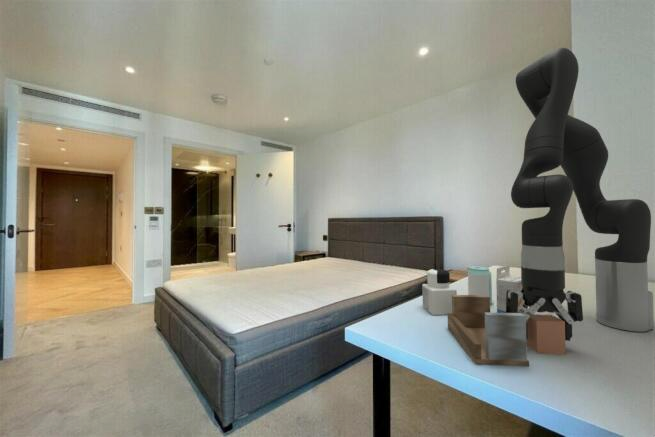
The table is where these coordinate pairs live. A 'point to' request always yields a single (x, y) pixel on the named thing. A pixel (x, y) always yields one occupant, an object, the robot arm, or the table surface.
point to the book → (546, 334)
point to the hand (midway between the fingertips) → (543, 338)
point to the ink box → (506, 287)
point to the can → (480, 281)
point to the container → (438, 292)
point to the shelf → (488, 331)
